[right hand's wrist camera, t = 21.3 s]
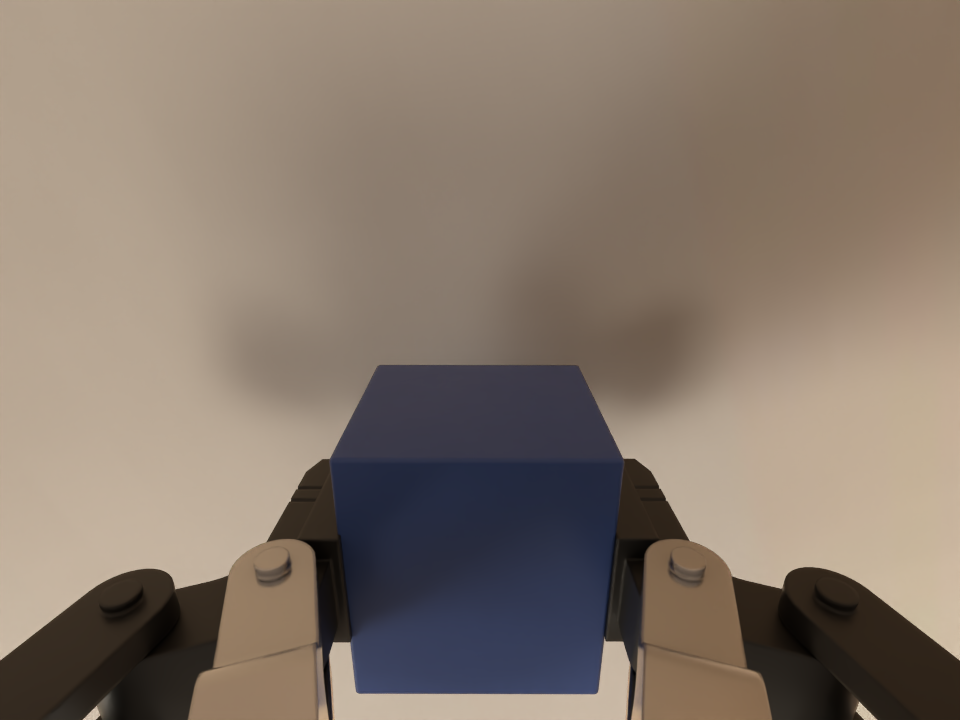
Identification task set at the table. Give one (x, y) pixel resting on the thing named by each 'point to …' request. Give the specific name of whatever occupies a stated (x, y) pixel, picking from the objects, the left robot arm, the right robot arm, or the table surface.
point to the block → (477, 530)
